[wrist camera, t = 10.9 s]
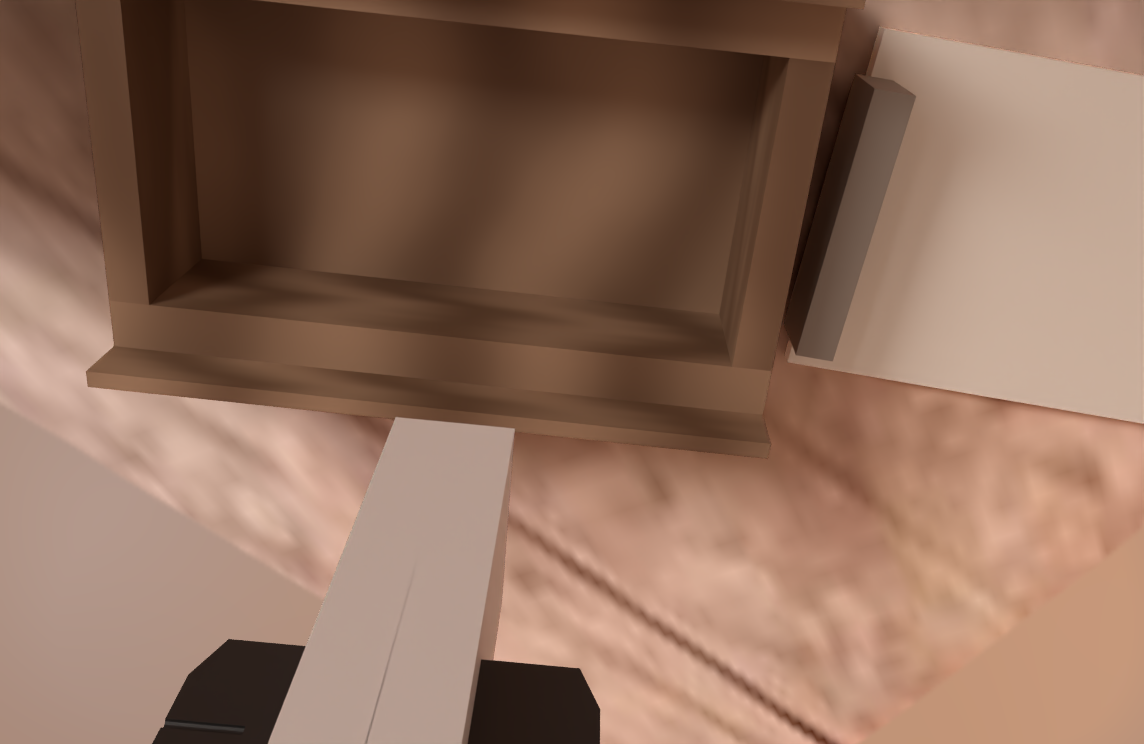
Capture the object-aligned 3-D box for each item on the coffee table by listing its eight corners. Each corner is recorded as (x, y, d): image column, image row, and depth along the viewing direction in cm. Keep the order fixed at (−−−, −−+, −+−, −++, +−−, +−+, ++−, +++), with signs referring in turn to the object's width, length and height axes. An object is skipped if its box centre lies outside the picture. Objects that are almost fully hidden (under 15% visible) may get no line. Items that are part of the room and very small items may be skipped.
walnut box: (180, 301, 35) (88, 386, 29) (147, -105, 29) (24, -105, 23) (741, 361, 35) (767, 458, 29) (816, -32, 30) (868, -13, 23)
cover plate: (768, 345, 36) (784, 393, 32) (860, 21, 31) (890, 36, 27) (1264, 431, 36) (1332, 487, 33) (1430, 127, 31) (1530, 155, 28)
